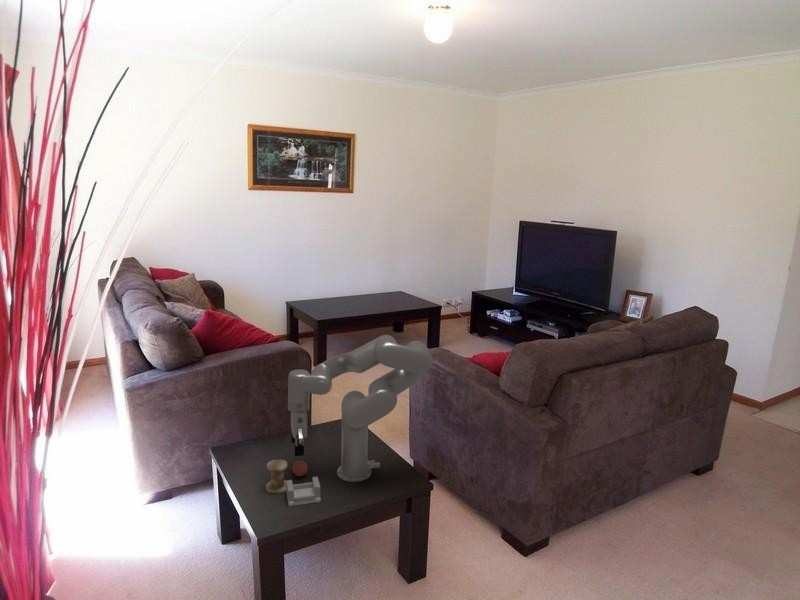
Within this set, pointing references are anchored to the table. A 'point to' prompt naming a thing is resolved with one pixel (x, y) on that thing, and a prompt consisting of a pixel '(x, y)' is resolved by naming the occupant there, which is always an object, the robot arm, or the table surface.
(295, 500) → the grey u-shaped holder
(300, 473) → the bead
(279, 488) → the bobbin
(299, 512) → the table surface
